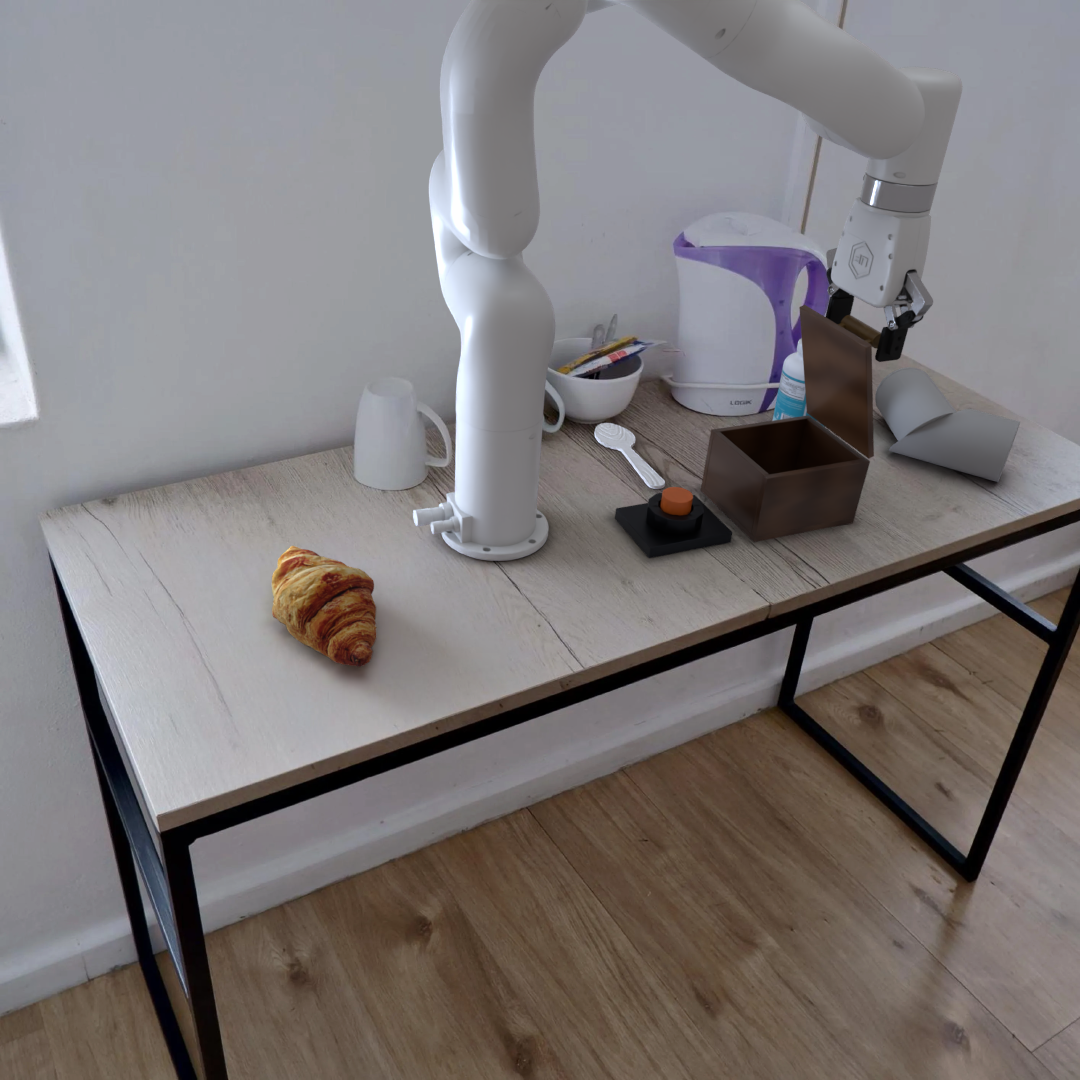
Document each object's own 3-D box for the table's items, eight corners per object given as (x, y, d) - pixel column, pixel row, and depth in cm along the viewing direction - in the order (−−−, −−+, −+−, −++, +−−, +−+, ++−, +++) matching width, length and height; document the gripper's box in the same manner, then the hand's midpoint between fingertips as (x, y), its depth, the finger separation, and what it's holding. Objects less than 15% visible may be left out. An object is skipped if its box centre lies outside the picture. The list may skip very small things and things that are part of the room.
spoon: (640, 491, 128) (641, 487, 128) (586, 427, 142) (586, 424, 142) (678, 486, 130) (678, 482, 130) (620, 423, 144) (621, 420, 144)
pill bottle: (819, 422, 149) (839, 335, 141) (826, 445, 142) (848, 356, 135) (768, 417, 149) (786, 330, 141) (772, 440, 143) (791, 350, 135)
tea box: (753, 542, 120) (767, 478, 115) (700, 490, 130) (710, 429, 125) (853, 523, 125) (870, 461, 120) (794, 474, 135) (808, 415, 130)
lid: (865, 347, 110) (904, 329, 111) (799, 306, 120) (835, 290, 121) (868, 459, 120) (904, 442, 121) (806, 413, 130) (840, 397, 131)
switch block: (649, 558, 116) (652, 533, 114) (614, 518, 123) (617, 493, 121) (730, 542, 120) (735, 517, 118) (692, 504, 127) (697, 480, 125)
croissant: (267, 597, 111) (226, 552, 105) (341, 541, 113) (304, 494, 107) (342, 713, 96) (298, 667, 91) (426, 646, 98) (388, 597, 92)
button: (669, 518, 118) (671, 504, 116) (654, 503, 120) (656, 489, 119) (696, 514, 119) (698, 499, 118) (681, 498, 122) (683, 484, 120)
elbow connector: (844, 446, 140) (994, 490, 132) (866, 372, 136) (1022, 412, 128) (869, 426, 154) (1006, 464, 147) (890, 358, 151) (1031, 393, 143)
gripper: (820, 175, 114) (791, 319, 124) (923, 219, 101) (881, 377, 110) (874, 172, 117) (841, 314, 126) (981, 215, 104) (935, 369, 113)
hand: (860, 343), depth 118 cm, fingers open, 9 cm apart
